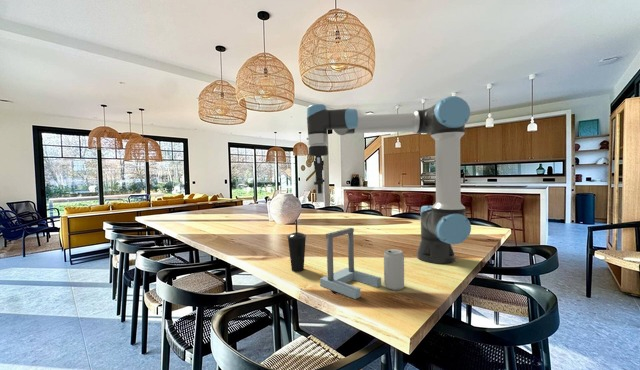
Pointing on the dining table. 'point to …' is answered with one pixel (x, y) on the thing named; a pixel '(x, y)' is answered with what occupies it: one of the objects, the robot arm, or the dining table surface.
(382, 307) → the dining table surface
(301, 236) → the drinking cup
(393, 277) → the beverage can
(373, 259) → the dining table surface
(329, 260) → the grey arch frame
